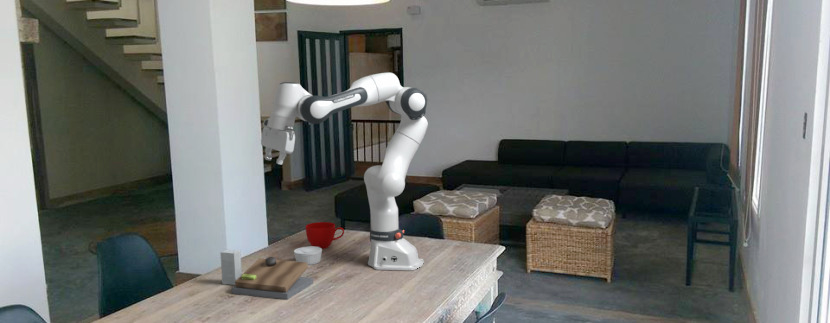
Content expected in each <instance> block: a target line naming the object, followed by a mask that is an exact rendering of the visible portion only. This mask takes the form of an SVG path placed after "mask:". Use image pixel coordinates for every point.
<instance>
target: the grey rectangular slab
mask: <svg viewBox="0 0 830 323" xmlns="http://www.w3.org/2000/svg"><path fill="white" fill-rule="evenodd" d="M312 284H314V278H313V277H306V276H300V277H299V278H298V279H297V280H296V282H295V283H294V284H293V285H292V286H291V287H290V288H289V290H288V291H287V292H281V291H271V290H262V289H253V288H243V287H236V285H233V286H232V287H231V294H233V295H234V294H236V295H243V296H253V297H260V298H271V299H279V300H289V299H291V298H292V297H294V296H295V295H298V294H299V293H301V292H302V291H303V290H305V289H306V288H309V287H310V286H311V285H312Z"/></svg>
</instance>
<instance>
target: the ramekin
mask: <svg viewBox="0 0 830 323" xmlns="http://www.w3.org/2000/svg"><path fill="white" fill-rule="evenodd" d="M322 252H323V249H322V248H320V247H315V246H312V245H310V246H309V245H308V246H302V247H299V248H296V249H294V251H293V253H294V257H295V262H306V263H307V265H308V266H313V265H316V264H318V263H320V261H322V260H321V259H322Z"/></svg>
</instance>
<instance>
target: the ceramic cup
mask: <svg viewBox="0 0 830 323" xmlns="http://www.w3.org/2000/svg"><path fill="white" fill-rule="evenodd" d="M338 230H341V231H342V233H341V235H339V236H336V237H335V233H336V232H337V231H338ZM344 234H345V229H344V228H343V227H340V226H339V227H336V224H335V223H334V222H329V221H327V222H326V221H319V222H318V221H317V222H311V223H308V224H306V225H305V236H306V238H307V241H308V243H309V244H310V246H315V247H320V248H322V250H325V249H328V248H329V247H330V246H331V244H332V243H333V241H336V240H338V239H340V238H342V237H343V236H344Z"/></svg>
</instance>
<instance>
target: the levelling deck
mask: <svg viewBox="0 0 830 323" xmlns="http://www.w3.org/2000/svg"><path fill="white" fill-rule="evenodd" d="M308 268H309V265H307V263H306V262H296V260H295V261H294V260H282V259H276V256H269V257H266V258H261V257H260V258H258V259H257V260H255V261H254V263H253V264H252V265H250V266H249V267H248V268H247V269H246V270H245V271H244V272H243V273H242V275H241V276H240V277H239V278H238V279H237V280H236V281H235V285H234V286H236V287H243V288H253V289H262V290H271V291H281V292H287V291H288V290H289V288H290V287H291V286H292V285H293V284H294V283H295V282H296V280H297V279H298V278H299V277H302V275H303V273H305V272H306V270H307V269H308Z"/></svg>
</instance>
